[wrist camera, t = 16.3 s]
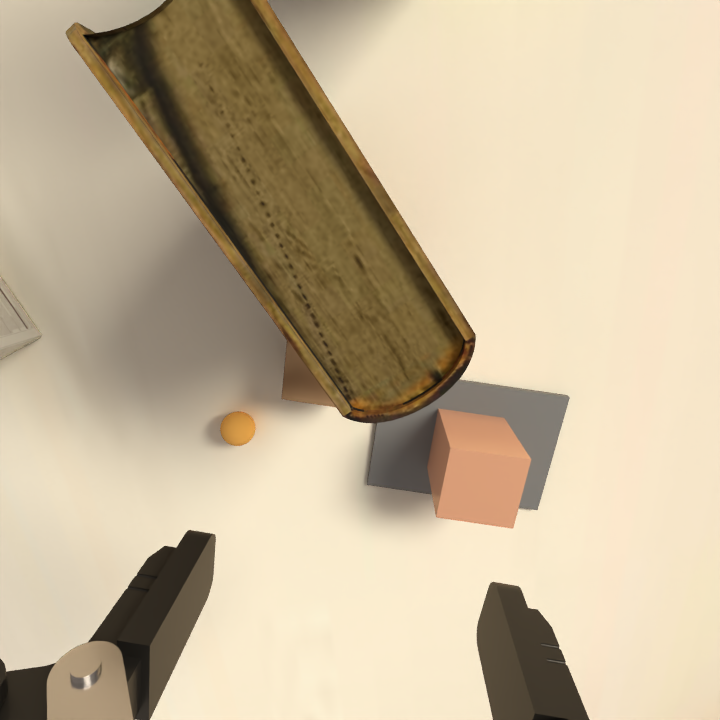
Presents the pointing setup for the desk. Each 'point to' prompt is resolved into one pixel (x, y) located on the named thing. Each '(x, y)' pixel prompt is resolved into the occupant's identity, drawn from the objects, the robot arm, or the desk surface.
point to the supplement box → (14, 323)
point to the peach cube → (476, 469)
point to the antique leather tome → (287, 199)
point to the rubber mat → (518, 406)
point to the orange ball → (237, 428)
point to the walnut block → (301, 382)
